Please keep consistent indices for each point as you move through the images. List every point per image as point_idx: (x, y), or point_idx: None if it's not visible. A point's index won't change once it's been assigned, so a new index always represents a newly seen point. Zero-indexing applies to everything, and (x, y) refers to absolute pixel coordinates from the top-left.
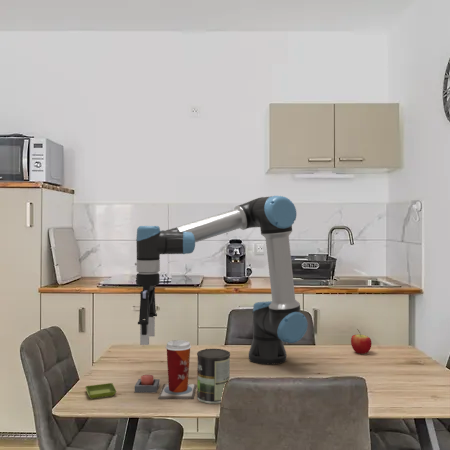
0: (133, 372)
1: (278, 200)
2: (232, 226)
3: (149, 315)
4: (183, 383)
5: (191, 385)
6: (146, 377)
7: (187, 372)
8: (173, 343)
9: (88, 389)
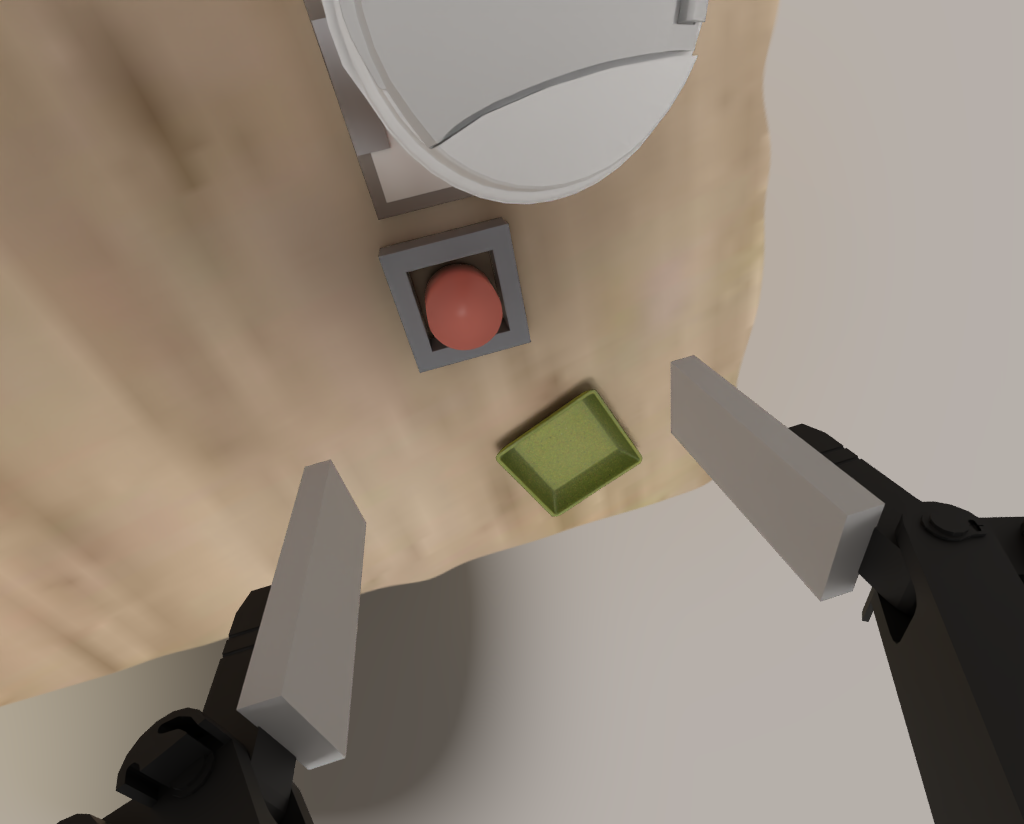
0: (247, 469)
1: None
2: None
3: (281, 782)
4: None
5: None
6: (483, 312)
7: None
8: (600, 61)
9: (553, 499)
